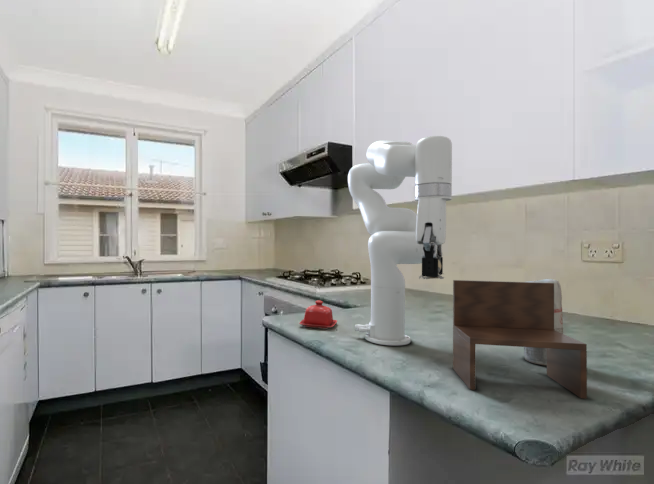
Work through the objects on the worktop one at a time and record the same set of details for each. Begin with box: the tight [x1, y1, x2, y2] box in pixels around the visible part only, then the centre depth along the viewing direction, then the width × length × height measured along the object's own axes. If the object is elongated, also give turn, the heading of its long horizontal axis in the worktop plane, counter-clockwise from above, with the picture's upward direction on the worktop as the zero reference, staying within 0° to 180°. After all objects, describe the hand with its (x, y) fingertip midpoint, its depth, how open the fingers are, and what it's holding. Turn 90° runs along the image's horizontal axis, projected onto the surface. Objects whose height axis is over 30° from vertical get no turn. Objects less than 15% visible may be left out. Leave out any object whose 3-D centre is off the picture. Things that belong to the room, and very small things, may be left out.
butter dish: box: [299, 299, 338, 330], centre depth 125 cm, size 12×12×8 cm
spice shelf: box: [452, 279, 588, 399], centre depth 76 cm, size 20×12×20 cm, turn 79°
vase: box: [418, 252, 446, 280], centre depth 82 cm, size 5×5×6 cm
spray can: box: [523, 278, 564, 366], centre depth 90 cm, size 8×8×20 cm
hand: (432, 274), depth 82 cm, fingers closed on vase, 5 cm apart
